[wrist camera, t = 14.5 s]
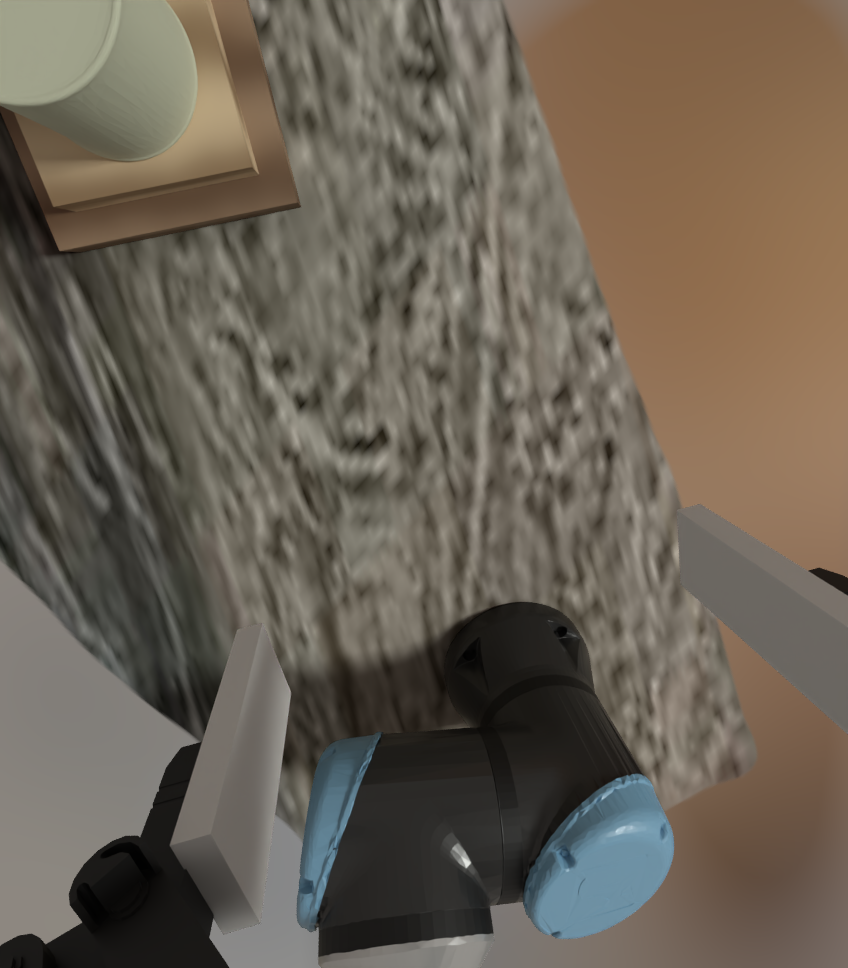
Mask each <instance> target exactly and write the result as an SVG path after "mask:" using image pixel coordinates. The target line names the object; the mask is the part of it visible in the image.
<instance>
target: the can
mask: <svg viewBox="0 0 848 968" xmlns="http://www.w3.org/2000/svg"><path fill="white" fill-rule="evenodd" d="M197 91H198V76H197V68H196V62H195V57H194V53H193V50H192V47H191V44H190V41H189V39H188V36H187V34H186V31H185V29H184V28H183V26H182V24H181V22H180V20H179V18H178V17H177V15H176V14H175V12H174V11H173V9H172V8H171V7H170V5H169V4H168V3H167V1H166V0H0V106H2V107H4V108H6V109H9V110H11V111H13V112H15V113H17V114H20V115H22V116H24V117H26V118H28V119H31V120H33V121H35V122H37V123H39V124H41V125H43V126H45V127H47V128H49V129H51V130H53V131H55V132H57V133H60V134H62V135H64V136H66V137H67V138H69V139H70V140H71V141H73V142H74V143H75V144H77V145H79V146H80V147H82V148H84V149H85V150H87V151H89V152H92V153H94V154H96V155H98V156H101V157H104V158H108V159H112V160H118V161H140V160H145V159H149V158H152V157H155V156H157V155H159V154H161V153H163V152H165V151H166V150H168V149H169V148H170V147H172V146H173V145H174V144H175V143H176V142H177V141H178V140H179V139H180V137H181V136H182V135H183V134H184V132H185V131H186V129H187V127H188V125H189V123H190V121H191V119H192V116H193V113H194V110H195V105H196V100H197Z"/></svg>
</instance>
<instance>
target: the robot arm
mask: <svg viewBox="0 0 848 968" xmlns="http://www.w3.org/2000/svg"><path fill="white" fill-rule="evenodd" d="M677 522H678V542H679V561H680V581H681V585H682V586H683V587H684V588H685V589H686V590H688V591H689V592H690V593H691V594H692V595H693V596H694V597H695V598H696V599H698V600H699V601H700V602H701V603H702V604H703V605H704V606H705V607H706V608H708V609H709V610H710V611H711V612H712V613H713V614H714V615H715V616H717V617H718V618H719V619H720V620H721V621H722V622H723V623H724V624H725V625H727V626H728V627H729V628H730V629H731V630H732V631H733V632H734V633H735V634H737V635H738V636H739V637H740V638H741V639H742V640H743V641H744V642H746V643H747V644H748V645H749V646H750V647H751V648H752V649H753V650H754V651H756V652H757V653H758V654H759V655H760V656H761V657H762V658H763V659H764V660H766V661H767V662H768V663H769V664H770V665H771V666H772V667H773V668H774V669H776V670H777V671H778V672H779V673H780V674H781V675H782V676H783V677H785V678H786V679H787V680H788V681H789V682H790V683H791V684H792V685H793V686H795V687H796V688H797V689H798V690H799V691H800V692H801V693H802V694H803V695H805V696H806V697H807V698H808V699H809V700H810V701H811V702H812V703H813V704H815V705H816V706H817V707H818V708H819V709H820V710H821V711H822V712H824V713H825V714H826V715H827V716H828V717H829V718H830V719H831V720H833V722H835V723H836V724H837V725H838V726H839V727H840V728H841V729H842V730H844V731H845V732H846V733H847V734H848V578H847V577H845V576H843V575H840V574H837V573H834V572H830V571H827V570H824V569H821V568H817V569H813V570H809V571H807V570H806V569H804V568H802V567H800V566H799V565H797V564H796V563H794V562H793V561H791V560H789V559H788V558H786V557H785V556H783V555H781V554H780V553H778V552H777V551H775V550H773V549H772V548H770V547H768V546H767V545H765V544H763V543H762V542H760V541H759V540H757V539H755V538H754V537H752V536H751V535H749V534H747V533H746V532H744V531H743V530H741V529H740V528H738V527H736V526H735V525H733V524H731V523H730V522H728V521H727V520H725V519H723V518H722V517H720V516H719V515H717V514H715V513H714V512H712V511H711V510H709V509H707V508H706V507H704V506H702V505H700V504H698V505H695V506H691V507H687V508H684V509H680V510H677ZM444 675H445V681H446V685H447V689H448V693H449V696H450V699H451V701H452V703H453V705H454V707H455V709H456V710H457V712H458V713H459V714H460V715H461V717H462V718H463V719H464V721H465V722H466V723H467V725H468V726H469V727H470V728H460V729H447V730H434V731H420V732H407V733H394V734H383V732H376V733H375V734H374V735H369V736H362V737H355V738H347V739H341V740H337V741H335V742H333V743H332V744H330V745H329V746H328V747H327V748H326V749H325V751H324V752H323V753H322V755H321V757H320V759H319V762H318V765H317V768H316V772H315V776H314V781H313V785H312V790H311V796H310V801H309V807H308V813H307V819H306V825H305V832H304V839H303V847H302V855H301V864H300V875H301V876H300V880H299V891H298V896H297V921H298V923H299V925H300V926H301V927H302V928H305V929H307V930H308V931H309V932H313V931H316V928H317V927H319V952H318V964H319V966H320V967H321V968H480V966H481V964H482V963H483V961H484V959H485V957H486V955H487V953H488V951H489V950H490V948H491V946H492V944H493V942H494V934H493V926H492V919H491V913H490V906H493V905H500V904H509V903H516V902H523V905H524V908H525V912H526V914H527V915H528V917H529V918H530V919H531V921H532V922H533V924H534V925H535V927H536V928H537V929H538V930H539V931H541V932H542V933H544V934H546V935H549V934H551V935H552V936H554V937H556V938H559V939H573V938H580V937H585V936H588V935H592V934H595V933H598V932H600V931H603V930H605V929H608V928H610V927H612V926H613V925H615V924H617V923H619V922H621V921H622V920H624V919H625V918H627V917H628V916H630V915H631V914H633V913H634V912H635V911H637V910H638V909H639V908H640V907H641V906H642V905H643V904H644V903H646V902H647V901H648V900H649V899H650V897H652V895H653V894H654V893H655V892H656V891H657V889H658V888H659V886H660V885H661V884H662V882H663V880H664V879H665V877H666V875H667V873H668V871H669V869H670V866H671V863H672V859H673V854H674V838H673V832H672V829H671V826H670V823H669V822H668V819H667V817H666V815H665V813H664V811H663V809H662V807H661V805H660V803H659V801H658V799H657V797H656V795H655V793H654V788H653V786H652V784H651V782H650V781H649V780H648V779H647V778H646V777H645V776H644V774H643V772H642V771H641V769H640V767H639V766H638V764H637V762H636V761H635V759H634V757H633V756H632V754H631V752H630V751H629V749H628V747H627V746H626V744H625V742H624V741H623V739H622V737H621V736H620V734H619V732H618V731H617V729H616V727H615V726H614V724H613V722H612V721H611V719H610V717H609V716H608V714H607V712H606V711H605V709H604V707H603V706H602V704H601V703H600V701H599V699H598V697H597V696H596V694H595V691H594V684H593V678H592V671H591V665H590V658H589V653H588V650H587V647H586V644H585V642H584V640H583V638H582V636H581V635H580V633H579V632H578V630H577V629H576V627H575V626H574V624H573V623H572V622H571V621H570V619H569V618H567V617H566V616H565V615H564V614H563V613H561V612H560V611H558V610H556V609H554V608H551V607H549V606H546V605H542V604H537V603H513V604H507V605H503V606H500V607H497V608H494V609H492V610H489V611H487V612H485V613H483V614H481V615H480V616H478V617H476V618H475V619H474V620H472V621H471V622H470V623H468V624H467V625H466V626H465V627H464V628H463V629H462V630H461V631H460V632H459V634H458V635H457V636H456V637H455V639H454V640H453V642H452V644H451V646H450V648H449V650H448V652H447V655H446V659H445V665H444ZM290 698H291V691H290V688H289V686H288V683H287V681H286V679H285V676H284V674H283V671H282V669H281V666H280V664H279V661H278V659H277V657H276V654H275V652H274V649H273V647H272V644H271V642H270V639H269V637H268V635H267V632H266V630H265V627H264V625H263V623H259V624H256V625H252V626H248V627H245V628H241V629H237V633H236V636H235V639H234V642H233V645H232V648H231V652H230V655H229V658H228V661H227V664H226V668H225V671H224V674H223V677H222V680H221V684H220V687H219V690H218V693H217V696H216V699H215V703H214V706H213V709H212V712H211V715H210V719H209V722H208V725H207V728H206V731H205V735H204V738H203V741H202V742H200V743H196V744H193V745H189V746H185V747H182V748H181V749H180V750H179V751H178V753H177V754H176V755H175V757H174V758H173V759H172V761H171V762H170V763H169V765H168V766H167V767H166V770H165V773H164V775H163V778H162V780H161V783H160V786H159V792H157V794H156V797H155V799H154V802H153V808H152V809H151V810H150V813H149V816H148V818H147V821H146V824H145V826H144V829H143V832H142V834H141V837H139V836H124V837H122V838H119V839H116V840H114V841H112V842H110V843H109V844H107V845H106V846H104V847H103V848H101V849H100V850H98V851H97V852H96V853H95V854H94V855H93V856H92V857H91V858H90V859H89V860H88V861H87V862H86V863H85V864H84V865H83V867H82V868H81V870H80V871H79V873H78V874H77V876H76V877H75V879H74V881H73V884H72V886H71V889H70V892H69V900H70V906H71V907H72V909H73V910H74V911H75V913H76V914H77V915H78V917H79V918H80V919H81V921H82V923H81V924H79V925H78V926H76V927H74V928H73V929H71V930H70V931H67V932H66V933H64V934H63V935H61V936H59V937H57V938H56V939H54V940H52V941H51V942H49V943H47V944H46V945H45V943H44V942H43V941H42V940H41V939H40V938H39V937H37V936H35V935H33V934H27V935H20V936H17V937H15V938H13V939H12V940H9V941H7V942H6V943H4V944H2V945H1V946H0V968H229V967H228V965H227V964H226V962H225V960H224V959H223V958H222V956H221V955H220V953H219V952H218V950H217V949H216V947H215V946H214V945H213V943H212V941H211V940H210V938H209V936H210V931H211V926H212V922H213V918H214V920H215V921H216V923H217V925H218V927H219V928H220V930H221V932H222V933H223V934H227V933H231V932H234V931H237V930H241V929H244V928H247V927H251V926H254V925H257V924H260V923H261V915H262V908H263V900H264V893H265V885H266V877H267V871H268V863H269V856H270V848H271V840H272V832H273V825H274V818H275V811H276V803H277V796H278V788H279V781H280V773H281V766H282V758H283V751H284V743H285V736H286V728H287V721H288V713H289V706H290Z"/></svg>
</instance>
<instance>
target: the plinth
mask: <svg viewBox="0 0 848 968" xmlns="http://www.w3.org/2000/svg"><path fill="white" fill-rule="evenodd" d="M166 1H167V3H168V4H169V5H170V7H171V8H172V9H173V11H174V12H175V14H176V15H177V17H178V18H179V20H180V22H181V24H182V26H183V28H184V29H185V31H186V34H187V36H188V39H189V41H190V44H191V47H192V50H193V53H194V57H195V62H196V68H197V76H198V91H197V100H196V105H195V110H194V113H193V116H192V119H191V121H190V123H189V125H188V127H187V129H186V131H185V132H184V134H183V135H182V136H181V137H180V139H179V140H178V141H177V142H176V143H175V144H174V145H173V146H172V147H170V148H169V149H168V150H166V151H165V152H163V153H161V154H159V155H157V156H155V157H152V158H149V159H145V160H140V161H118V160H112V159H108V158H104V157H101V156H98V155H96V154H94V153H92V152H89V151H87V150H85V149H84V148H82V147H80V146H79V145H77V144H75V143H74V142H73V141H71V140H70V139H69V138H67V137H66V136H64V135H62V134H60V133H57V132H55V131H53V130H51V129H49V128H47V127H45V126H43V125H41V124H39V123H37V122H35V121H33V120H31V119H28V118H26V117H24V116H22V115H20V114H17V113H15V112H13V111H11V110H9V109H6V108H4V107H2V106H0V112H1V115H2V117H3V120H4V122H5V124H6V127H7V129H8V131H9V134H10V136H11V138H12V141H13V143H14V145H15V148H16V150H17V152H18V155H19V157H20V159H21V162H22V164H23V166H24V169H25V171H26V173H27V176H28V178H29V181H30V183H31V185H32V188H33V190H34V192H35V195H36V197H37V199H38V202H39V204H40V206H41V209H42V211H43V213H44V216H45V218H46V220H47V223H48V225H49V227H50V230H51V232H52V235H53V237H54V239H55V242H56V244H57V246H58V249H59V251H65V252H85V251H90V250H95V249H100V248H105V247H109V246H114V245H119V244H124V243H129V242H134V241H139V240H143V239H148V238H153V237H158V236H163V235H168V234H173V233H177V232H182V231H187V230H192V229H197V228H202V227H207V226H211V225H216V224H221V223H226V222H231V221H236V220H241V219H245V218H250V217H255V216H260V215H265V214H270V213H275V212H279V211H284V210H289V209H294V208H299V207H301V205H300V201H299V197H298V193H297V189H296V186H295V182H294V178H293V174H292V170H291V166H290V162H289V158H288V154H287V150H286V146H285V142H284V138H283V135H282V131H281V127H280V123H279V119H278V115H277V111H276V107H275V103H274V99H273V95H272V91H271V87H270V83H269V80H268V76H267V72H266V68H265V64H264V60H263V56H262V52H261V48H260V44H259V40H258V36H257V32H256V29H255V25H254V21H253V17H252V13H251V9H250V5H249V1H248V0H166Z"/></svg>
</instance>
